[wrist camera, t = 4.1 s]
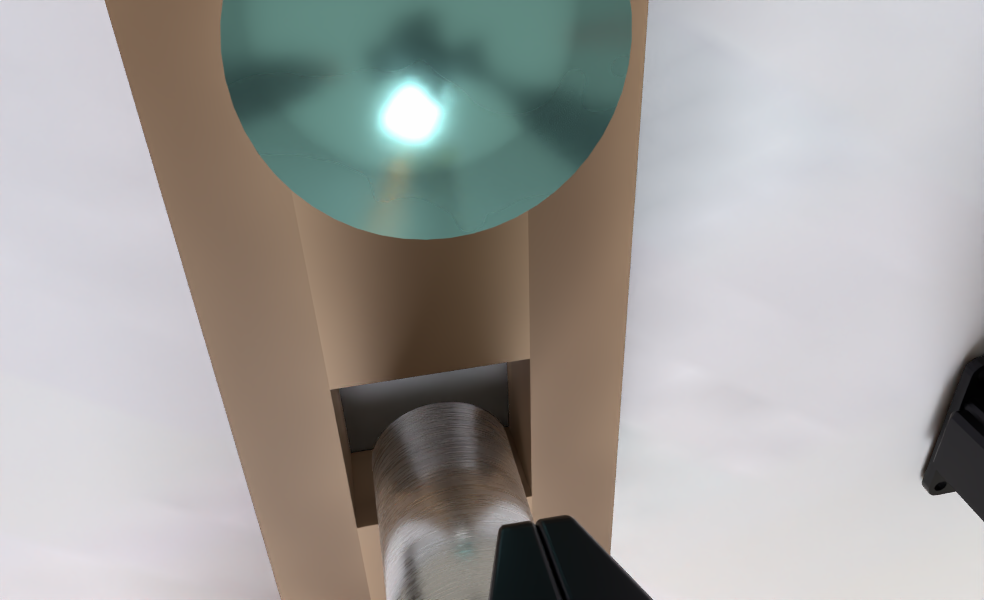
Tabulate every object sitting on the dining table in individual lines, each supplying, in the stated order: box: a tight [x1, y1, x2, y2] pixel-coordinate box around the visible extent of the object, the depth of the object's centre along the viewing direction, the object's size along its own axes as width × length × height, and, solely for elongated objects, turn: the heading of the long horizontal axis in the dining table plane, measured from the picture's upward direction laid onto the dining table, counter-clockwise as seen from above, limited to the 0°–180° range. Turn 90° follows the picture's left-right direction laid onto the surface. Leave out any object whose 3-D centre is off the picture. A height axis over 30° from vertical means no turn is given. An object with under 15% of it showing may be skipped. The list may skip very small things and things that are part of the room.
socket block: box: [105, 0, 649, 600], centre depth 19 cm, size 10×26×3 cm, turn 2°
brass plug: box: [372, 402, 535, 600], centre depth 18 cm, size 5×5×8 cm
